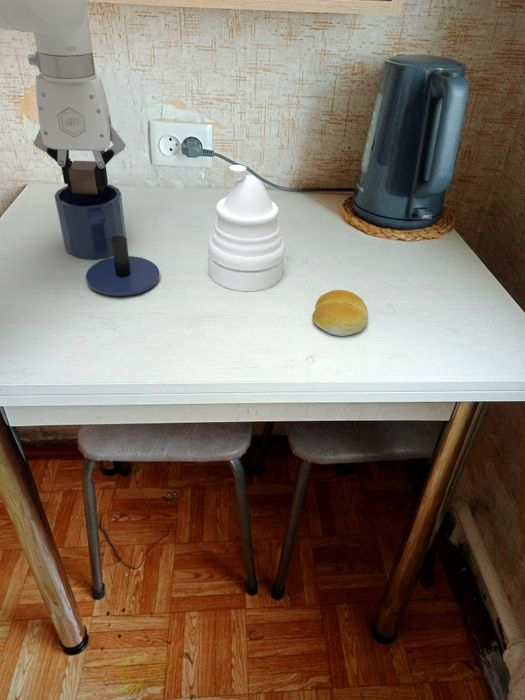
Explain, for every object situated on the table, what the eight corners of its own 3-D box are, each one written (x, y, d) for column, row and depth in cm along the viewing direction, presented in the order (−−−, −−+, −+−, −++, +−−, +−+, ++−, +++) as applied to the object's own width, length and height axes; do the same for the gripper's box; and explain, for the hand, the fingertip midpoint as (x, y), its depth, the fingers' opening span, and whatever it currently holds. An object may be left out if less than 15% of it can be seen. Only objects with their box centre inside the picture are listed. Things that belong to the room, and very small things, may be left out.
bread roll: (308, 332, 75) (311, 310, 73) (317, 300, 82) (321, 279, 80) (364, 343, 74) (369, 321, 72) (368, 310, 81) (373, 288, 78)
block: (72, 193, 83) (68, 169, 81) (77, 184, 87) (73, 160, 84) (97, 194, 84) (93, 170, 81) (101, 184, 87) (98, 161, 84)
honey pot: (218, 295, 81) (219, 186, 70) (200, 257, 91) (198, 154, 79) (293, 286, 85) (305, 180, 74) (268, 249, 94) (275, 151, 83)
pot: (72, 271, 84) (62, 218, 78) (59, 229, 95) (48, 180, 89) (136, 261, 88) (130, 209, 82) (116, 222, 99) (110, 174, 93)
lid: (94, 304, 77) (86, 262, 73) (81, 267, 85) (73, 227, 81) (168, 291, 82) (165, 250, 77) (149, 257, 90) (145, 218, 85)
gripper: (-2, 68, 70) (29, 196, 82) (122, 74, 71) (135, 199, 83) (15, 57, 76) (41, 178, 87) (130, 63, 77) (140, 181, 89)
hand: (87, 187), depth 85 cm, fingers closed on block, 4 cm apart
